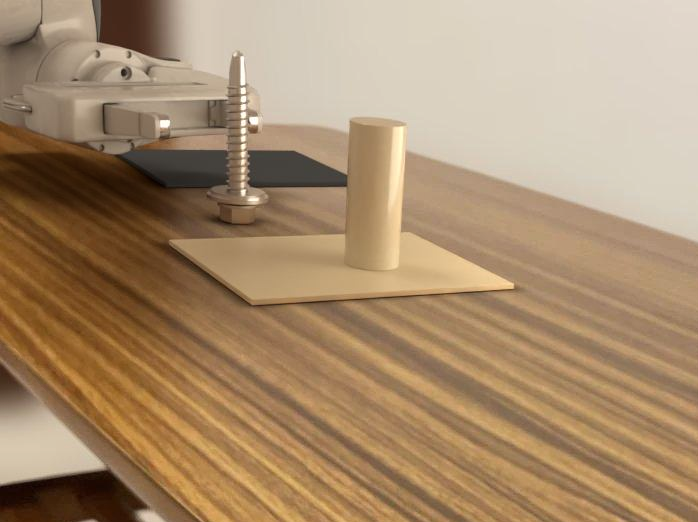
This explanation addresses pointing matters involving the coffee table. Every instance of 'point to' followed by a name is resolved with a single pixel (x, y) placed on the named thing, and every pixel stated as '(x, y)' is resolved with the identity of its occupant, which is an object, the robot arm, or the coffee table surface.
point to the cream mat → (330, 269)
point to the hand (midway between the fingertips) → (211, 125)
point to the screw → (237, 153)
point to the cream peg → (374, 193)
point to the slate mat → (212, 168)
